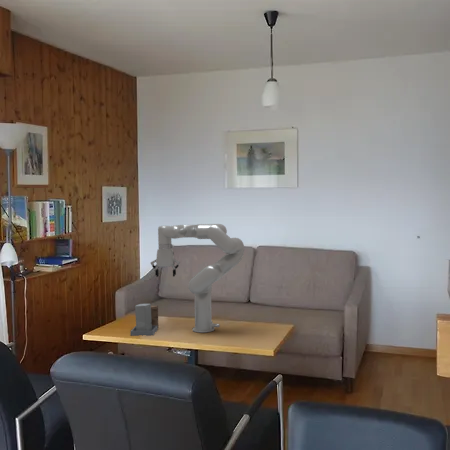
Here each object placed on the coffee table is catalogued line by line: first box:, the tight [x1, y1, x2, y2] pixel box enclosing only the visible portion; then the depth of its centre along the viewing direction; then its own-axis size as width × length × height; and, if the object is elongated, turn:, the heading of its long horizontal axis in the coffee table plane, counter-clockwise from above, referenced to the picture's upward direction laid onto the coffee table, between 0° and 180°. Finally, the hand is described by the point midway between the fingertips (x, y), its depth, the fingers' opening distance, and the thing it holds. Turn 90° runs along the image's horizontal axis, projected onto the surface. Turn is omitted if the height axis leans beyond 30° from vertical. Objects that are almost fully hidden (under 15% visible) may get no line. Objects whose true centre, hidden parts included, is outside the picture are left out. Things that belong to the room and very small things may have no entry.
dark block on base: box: [151, 305, 159, 329], centre depth 316 cm, size 12×4×13 cm, turn 86°
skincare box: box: [134, 303, 152, 331], centre depth 307 cm, size 8×7×16 cm
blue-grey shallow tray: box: [130, 325, 159, 337], centre depth 307 cm, size 13×14×2 cm
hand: (165, 276), depth 317 cm, fingers open, 9 cm apart
